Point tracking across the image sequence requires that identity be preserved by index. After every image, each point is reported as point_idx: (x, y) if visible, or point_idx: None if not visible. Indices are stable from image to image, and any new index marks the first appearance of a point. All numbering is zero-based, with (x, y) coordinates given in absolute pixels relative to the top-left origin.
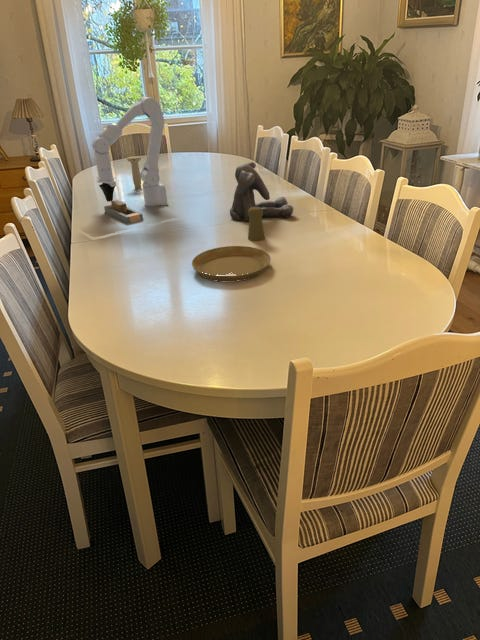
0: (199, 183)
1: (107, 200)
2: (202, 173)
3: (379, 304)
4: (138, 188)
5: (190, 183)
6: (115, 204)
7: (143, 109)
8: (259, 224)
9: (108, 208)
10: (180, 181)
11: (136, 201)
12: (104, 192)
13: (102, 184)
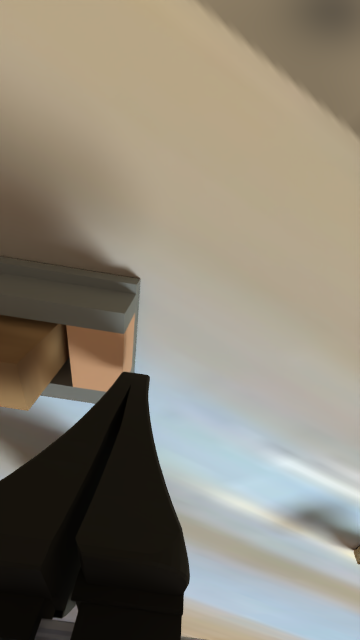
0: (210, 591)
1: (123, 376)
2: (280, 621)
3: None
4: (358, 547)
5: (233, 589)
6: None
7: None
8: None
9: (33, 300)
10: (278, 593)
11: (218, 474)
12: (117, 441)
13: (156, 590)
